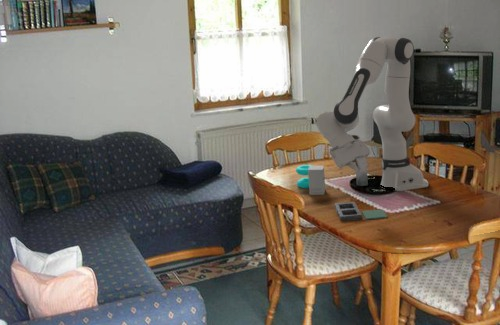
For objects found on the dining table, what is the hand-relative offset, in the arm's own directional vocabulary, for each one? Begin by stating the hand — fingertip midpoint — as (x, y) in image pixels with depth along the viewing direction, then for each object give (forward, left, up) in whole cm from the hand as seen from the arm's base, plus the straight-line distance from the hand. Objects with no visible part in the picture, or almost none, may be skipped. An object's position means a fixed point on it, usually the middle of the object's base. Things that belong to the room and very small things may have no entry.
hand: (362, 168), depth 251 cm
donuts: (+20, -46, -20) cm, 54 cm away
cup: (0, 0, -7) cm, 7 cm away
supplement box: (+16, -34, -20) cm, 43 cm away
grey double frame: (+7, -2, -20) cm, 21 cm away
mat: (-4, +3, -20) cm, 21 cm away
